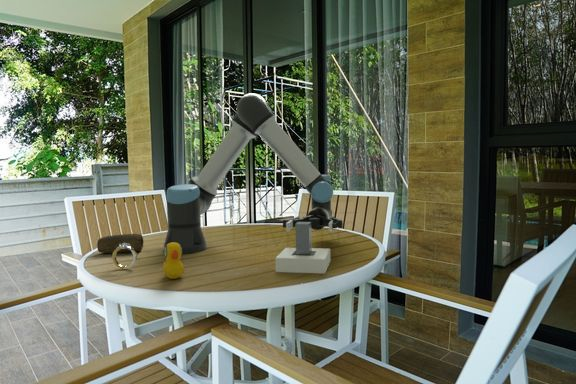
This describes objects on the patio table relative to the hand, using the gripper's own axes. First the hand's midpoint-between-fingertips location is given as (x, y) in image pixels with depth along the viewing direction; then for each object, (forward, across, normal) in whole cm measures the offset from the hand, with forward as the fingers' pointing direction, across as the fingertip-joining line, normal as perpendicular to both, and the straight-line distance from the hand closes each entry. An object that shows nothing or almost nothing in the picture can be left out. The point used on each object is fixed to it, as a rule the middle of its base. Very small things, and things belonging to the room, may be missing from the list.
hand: (308, 227), depth 130 cm
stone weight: (-2, +69, -10) cm, 70 cm away
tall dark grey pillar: (+9, 0, -10) cm, 14 cm away
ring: (+19, +53, -10) cm, 57 cm away
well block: (+9, 0, -10) cm, 14 cm away
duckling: (+26, +33, -10) cm, 43 cm away
